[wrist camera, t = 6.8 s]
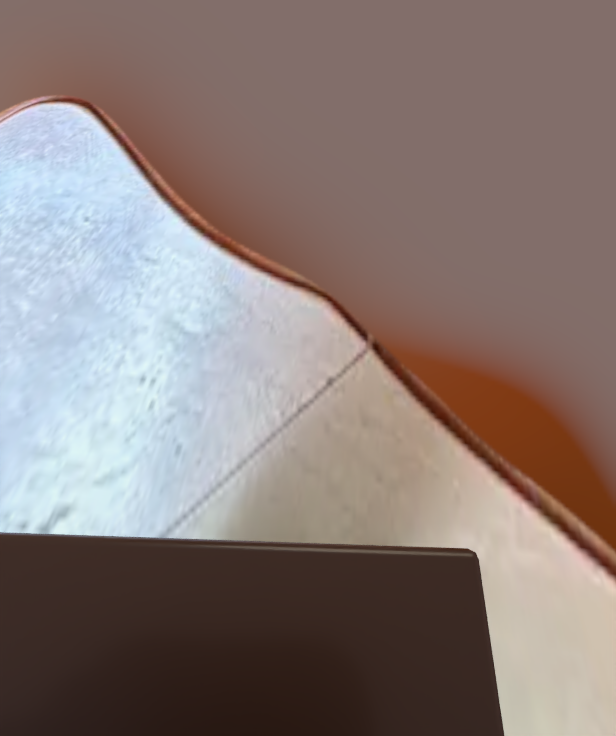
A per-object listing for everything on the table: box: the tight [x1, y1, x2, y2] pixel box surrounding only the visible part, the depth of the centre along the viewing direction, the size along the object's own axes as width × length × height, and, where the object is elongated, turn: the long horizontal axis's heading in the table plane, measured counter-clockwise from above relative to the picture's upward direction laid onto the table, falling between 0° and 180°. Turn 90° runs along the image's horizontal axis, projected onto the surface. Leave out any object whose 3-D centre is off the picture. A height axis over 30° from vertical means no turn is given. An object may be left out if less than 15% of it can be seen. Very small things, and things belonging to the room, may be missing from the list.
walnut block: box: [0, 532, 504, 736], centre depth 8 cm, size 4×5×12 cm
